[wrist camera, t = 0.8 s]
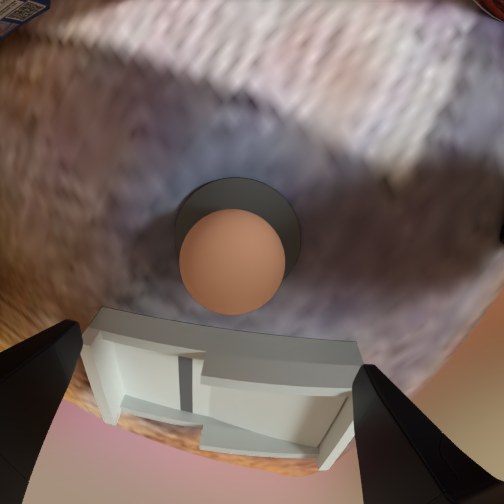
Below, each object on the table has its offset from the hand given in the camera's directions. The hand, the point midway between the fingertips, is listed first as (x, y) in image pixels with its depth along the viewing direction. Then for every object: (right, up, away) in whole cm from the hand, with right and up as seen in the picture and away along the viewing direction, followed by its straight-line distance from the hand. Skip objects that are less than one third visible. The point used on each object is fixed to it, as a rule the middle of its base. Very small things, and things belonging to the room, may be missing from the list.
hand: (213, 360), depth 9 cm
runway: (-1, -6, +13) cm, 15 cm away
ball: (0, +4, +8) cm, 9 cm away
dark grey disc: (0, +4, +9) cm, 9 cm away
